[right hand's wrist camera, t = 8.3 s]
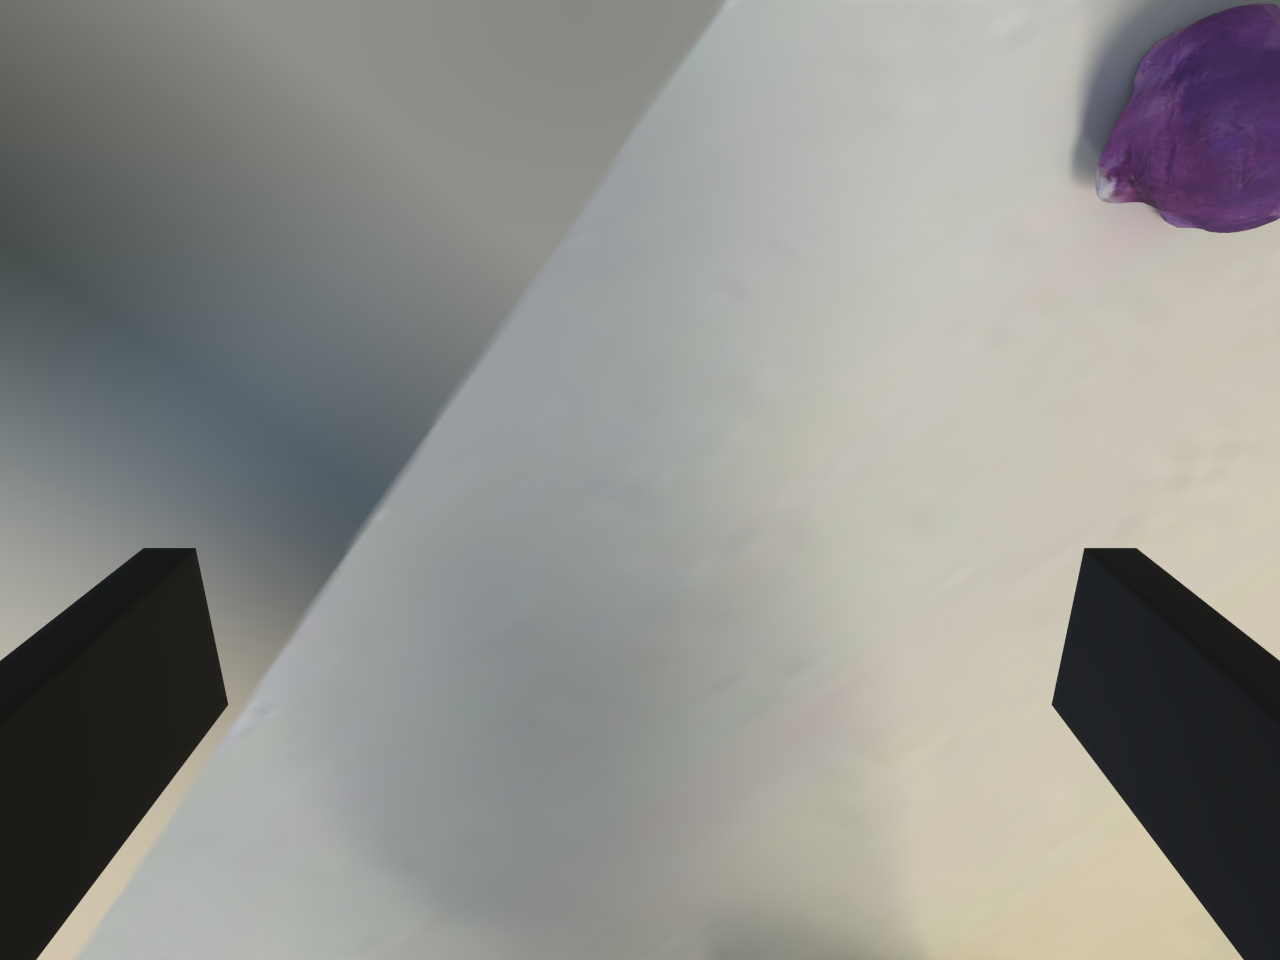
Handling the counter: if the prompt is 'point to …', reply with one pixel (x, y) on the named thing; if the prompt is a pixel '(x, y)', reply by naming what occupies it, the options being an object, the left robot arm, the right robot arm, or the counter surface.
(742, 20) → the counter surface
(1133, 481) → the counter surface
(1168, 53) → the figurine
